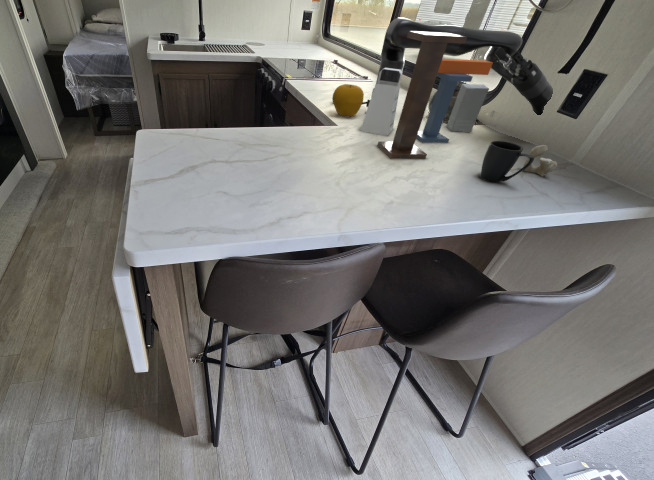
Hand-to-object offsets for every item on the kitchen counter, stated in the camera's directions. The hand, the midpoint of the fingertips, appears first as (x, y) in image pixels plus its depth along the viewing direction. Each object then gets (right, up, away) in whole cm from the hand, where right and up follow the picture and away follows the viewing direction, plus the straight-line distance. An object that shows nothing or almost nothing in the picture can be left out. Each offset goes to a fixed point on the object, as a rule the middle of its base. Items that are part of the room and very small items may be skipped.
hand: (505, 51), depth 112 cm
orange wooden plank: (-16, -5, +2) cm, 17 cm away
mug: (-11, -46, -11) cm, 49 cm away
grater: (-35, -16, +21) cm, 44 cm away
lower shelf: (-17, -21, +16) cm, 32 cm away
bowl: (-1, -3, +38) cm, 38 cm away
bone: (+6, -42, -5) cm, 43 cm away
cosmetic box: (-1, -13, +27) cm, 30 cm away
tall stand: (-33, -32, +3) cm, 46 cm away
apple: (-45, -3, +35) cm, 57 cm away
